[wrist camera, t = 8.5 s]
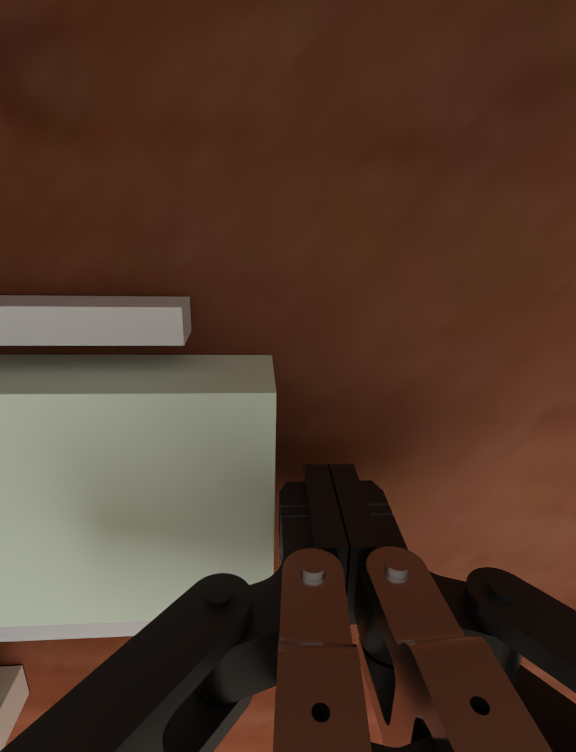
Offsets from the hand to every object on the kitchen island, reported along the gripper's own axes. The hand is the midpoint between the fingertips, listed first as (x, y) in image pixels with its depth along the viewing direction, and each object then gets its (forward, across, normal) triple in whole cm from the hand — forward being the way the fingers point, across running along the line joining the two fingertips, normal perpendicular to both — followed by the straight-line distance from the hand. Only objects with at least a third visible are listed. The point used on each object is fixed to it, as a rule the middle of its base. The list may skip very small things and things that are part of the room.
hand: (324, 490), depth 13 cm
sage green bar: (+1, +10, 0) cm, 10 cm away
